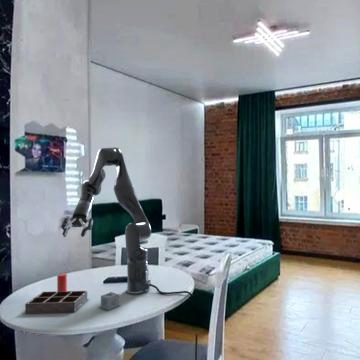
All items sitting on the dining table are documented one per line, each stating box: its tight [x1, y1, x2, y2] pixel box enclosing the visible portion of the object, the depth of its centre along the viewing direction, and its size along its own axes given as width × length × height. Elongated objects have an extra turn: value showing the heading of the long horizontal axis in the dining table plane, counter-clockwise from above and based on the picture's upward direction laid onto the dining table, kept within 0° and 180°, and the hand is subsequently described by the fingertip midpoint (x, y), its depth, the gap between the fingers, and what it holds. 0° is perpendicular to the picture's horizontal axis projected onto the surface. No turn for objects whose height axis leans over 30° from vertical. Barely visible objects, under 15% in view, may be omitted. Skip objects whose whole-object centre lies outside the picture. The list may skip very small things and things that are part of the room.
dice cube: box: [100, 291, 120, 311], centre depth 130 cm, size 5×5×5 cm
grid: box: [24, 290, 88, 314], centre depth 131 cm, size 19×13×4 cm
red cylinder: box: [56, 273, 68, 291], centre depth 144 cm, size 4×4×9 cm
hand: (73, 236), depth 155 cm, fingers open, 8 cm apart
